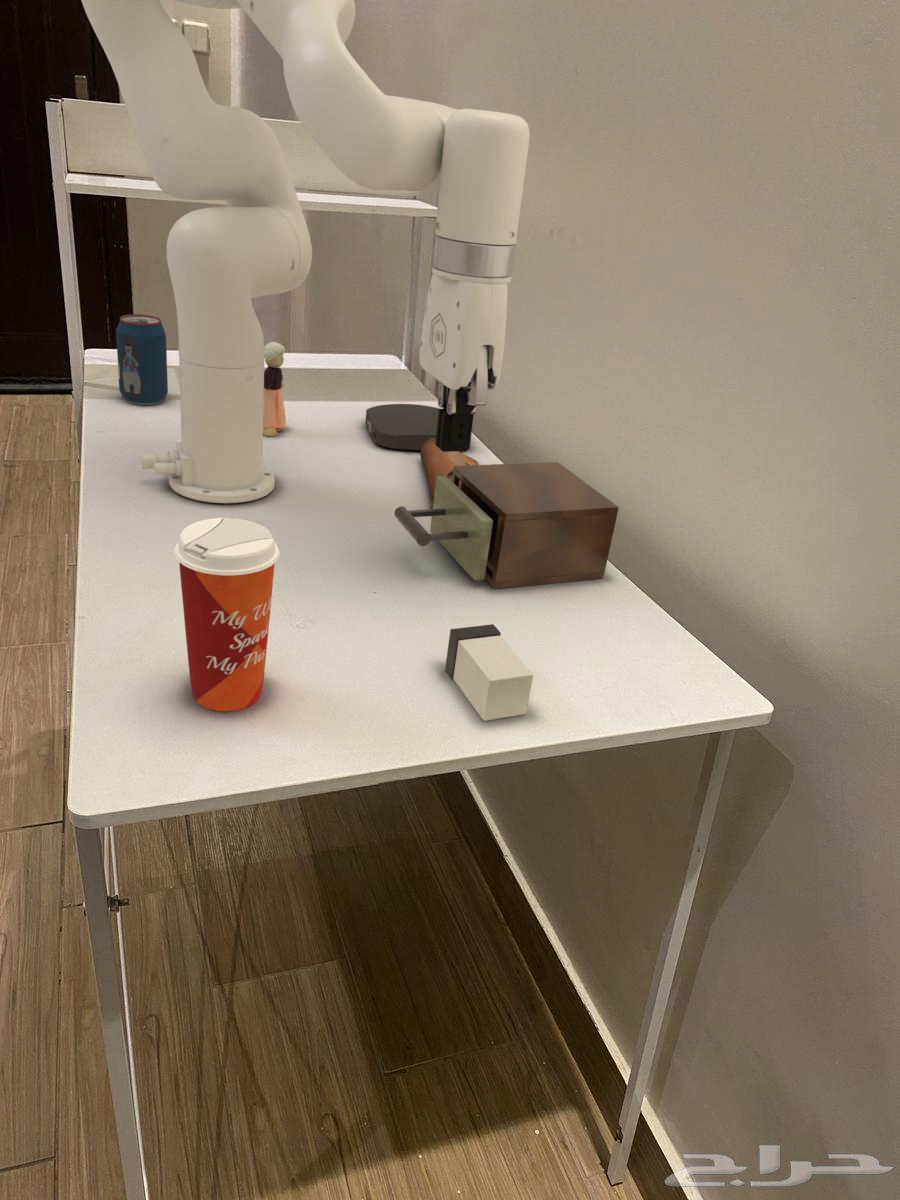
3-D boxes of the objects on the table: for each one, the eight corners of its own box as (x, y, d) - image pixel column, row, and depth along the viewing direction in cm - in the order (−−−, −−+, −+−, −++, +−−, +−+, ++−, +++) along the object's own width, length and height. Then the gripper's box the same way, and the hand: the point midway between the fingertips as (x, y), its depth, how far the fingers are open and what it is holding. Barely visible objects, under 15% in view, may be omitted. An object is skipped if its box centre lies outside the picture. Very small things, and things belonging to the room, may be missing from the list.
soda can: (166, 393, 142) (164, 314, 136) (169, 407, 136) (167, 325, 130) (119, 392, 139) (114, 312, 134) (120, 406, 134) (115, 323, 128)
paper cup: (228, 732, 69) (228, 568, 63) (157, 693, 73) (150, 534, 66) (295, 689, 76) (302, 535, 69) (227, 655, 79) (227, 506, 72)
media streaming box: (474, 454, 133) (477, 434, 132) (376, 451, 129) (377, 430, 128) (452, 422, 145) (454, 404, 144) (361, 418, 142) (362, 400, 140)
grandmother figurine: (280, 439, 129) (283, 350, 123) (253, 436, 129) (255, 346, 123) (290, 423, 136) (292, 337, 130) (264, 420, 135) (266, 334, 129)
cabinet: (494, 589, 96) (506, 514, 92) (444, 535, 106) (453, 465, 102) (603, 578, 101) (619, 507, 97) (545, 528, 112) (557, 461, 108)
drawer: (423, 585, 93) (430, 524, 89) (382, 534, 102) (387, 478, 99) (576, 571, 100) (588, 514, 97) (525, 524, 110) (534, 471, 106)
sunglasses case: (499, 511, 113) (478, 466, 110) (448, 535, 114) (426, 490, 111) (477, 461, 129) (458, 420, 126) (433, 482, 130) (413, 442, 126)
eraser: (527, 714, 76) (535, 672, 74) (482, 721, 75) (489, 679, 73) (487, 663, 82) (493, 623, 81) (444, 669, 81) (450, 628, 79)
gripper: (407, 245, 89) (392, 426, 98) (469, 273, 77) (446, 476, 86) (476, 249, 92) (456, 425, 101) (546, 277, 80) (517, 473, 89)
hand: (452, 448), depth 93 cm, fingers closed
